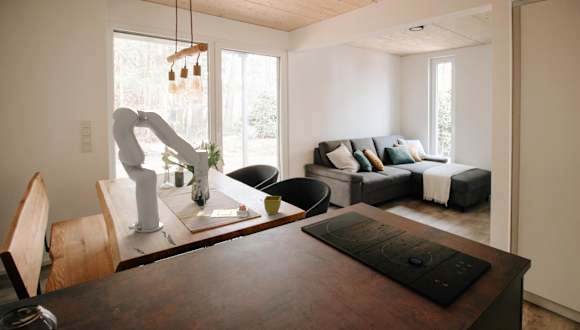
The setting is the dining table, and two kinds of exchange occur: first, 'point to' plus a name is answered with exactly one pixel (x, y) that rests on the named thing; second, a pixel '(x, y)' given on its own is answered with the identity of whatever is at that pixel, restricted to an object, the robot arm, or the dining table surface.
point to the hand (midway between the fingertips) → (201, 204)
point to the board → (230, 213)
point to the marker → (204, 203)
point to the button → (242, 207)
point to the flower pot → (272, 204)
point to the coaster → (204, 214)
